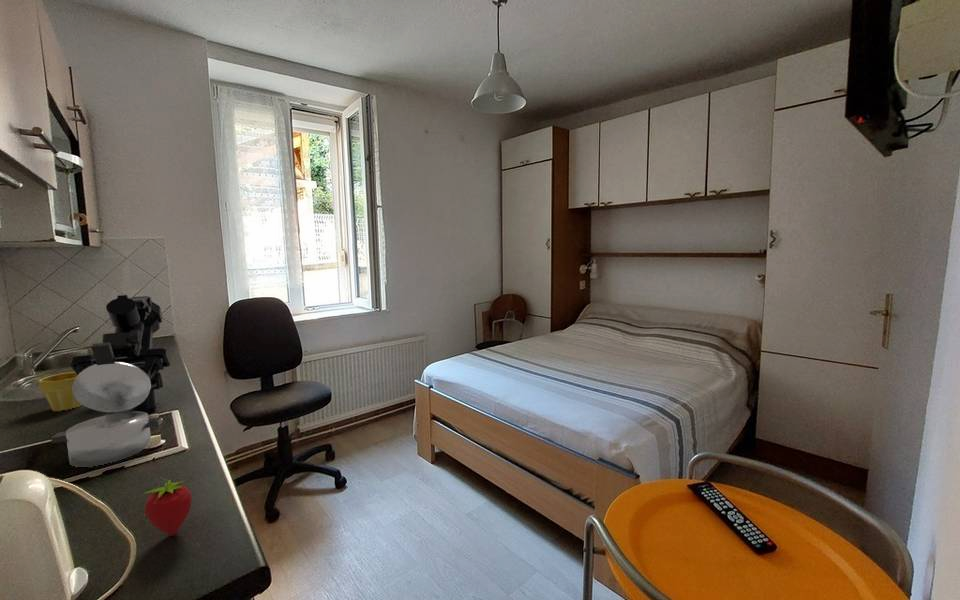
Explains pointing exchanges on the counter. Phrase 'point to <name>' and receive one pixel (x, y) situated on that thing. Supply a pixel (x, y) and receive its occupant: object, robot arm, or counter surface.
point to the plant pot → (60, 391)
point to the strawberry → (168, 507)
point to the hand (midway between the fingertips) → (117, 390)
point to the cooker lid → (110, 383)
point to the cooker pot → (107, 438)
